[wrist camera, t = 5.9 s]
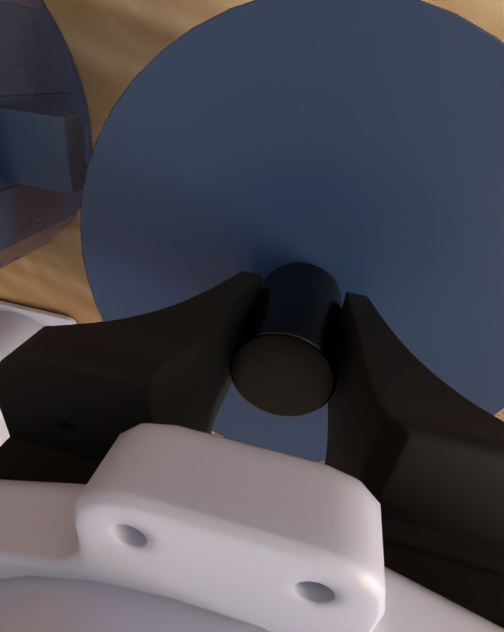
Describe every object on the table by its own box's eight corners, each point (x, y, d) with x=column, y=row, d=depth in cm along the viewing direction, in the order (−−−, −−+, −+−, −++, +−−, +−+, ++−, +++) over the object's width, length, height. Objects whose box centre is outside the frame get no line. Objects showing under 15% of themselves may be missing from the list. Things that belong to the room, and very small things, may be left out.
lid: (450, 479, 17) (483, 616, 12) (116, 393, 19) (45, 486, 14) (733, 34, 8) (1136, -14, 4) (67, -33, 10) (-135, -113, 6)
